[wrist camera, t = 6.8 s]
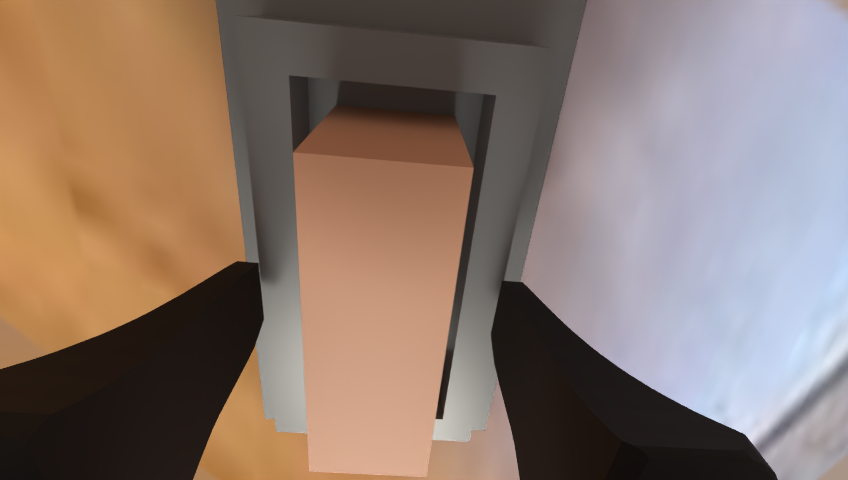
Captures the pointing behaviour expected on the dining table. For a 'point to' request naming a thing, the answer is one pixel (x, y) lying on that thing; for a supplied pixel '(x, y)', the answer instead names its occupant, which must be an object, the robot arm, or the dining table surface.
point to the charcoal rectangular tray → (403, 91)
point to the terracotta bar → (377, 282)
